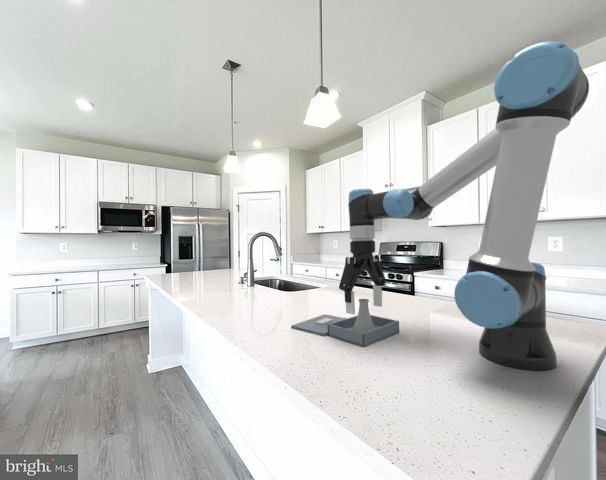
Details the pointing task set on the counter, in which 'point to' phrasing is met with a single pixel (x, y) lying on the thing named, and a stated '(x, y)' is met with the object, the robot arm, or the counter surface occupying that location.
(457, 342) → the counter surface
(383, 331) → the bin
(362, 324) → the flask
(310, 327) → the bin lid
